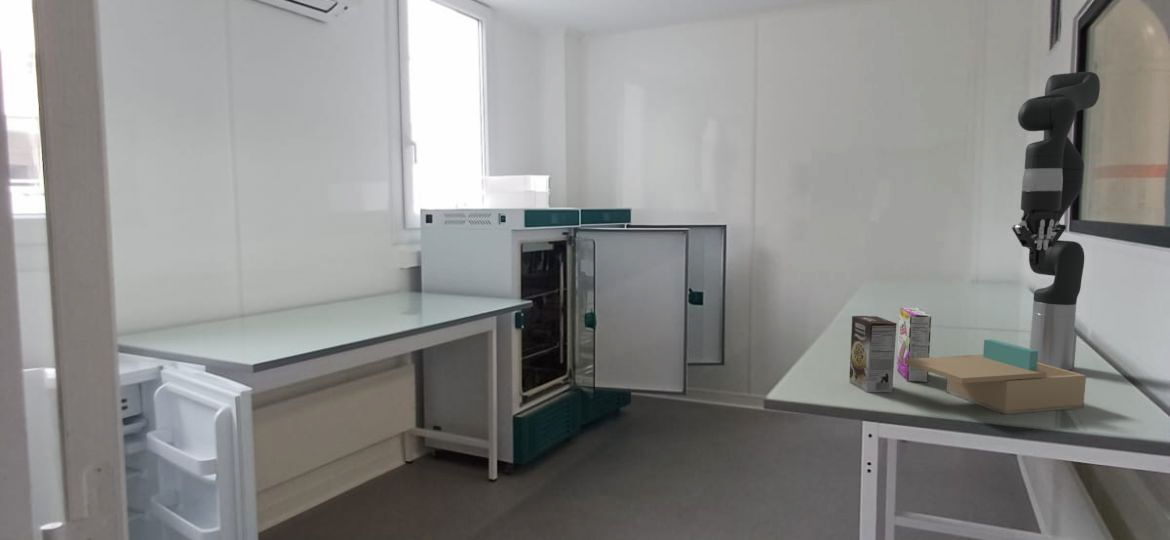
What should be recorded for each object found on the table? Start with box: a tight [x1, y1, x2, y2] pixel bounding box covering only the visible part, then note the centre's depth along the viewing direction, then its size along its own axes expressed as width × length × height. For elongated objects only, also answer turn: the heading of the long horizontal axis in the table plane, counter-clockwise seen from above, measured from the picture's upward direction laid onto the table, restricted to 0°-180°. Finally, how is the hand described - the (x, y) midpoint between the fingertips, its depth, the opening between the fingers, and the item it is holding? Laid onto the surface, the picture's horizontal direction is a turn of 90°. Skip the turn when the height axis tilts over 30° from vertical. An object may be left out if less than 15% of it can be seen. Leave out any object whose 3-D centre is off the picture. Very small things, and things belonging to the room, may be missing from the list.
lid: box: [905, 338, 1046, 383], centre depth 146 cm, size 21×17×5 cm
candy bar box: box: [896, 307, 932, 383], centre depth 168 cm, size 11×5×16 cm, turn 168°
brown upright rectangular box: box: [848, 315, 897, 393], centre depth 159 cm, size 9×6×16 cm
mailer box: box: [946, 362, 1087, 415], centre depth 149 cm, size 20×16×7 cm
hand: (1036, 266), depth 155 cm, fingers closed
